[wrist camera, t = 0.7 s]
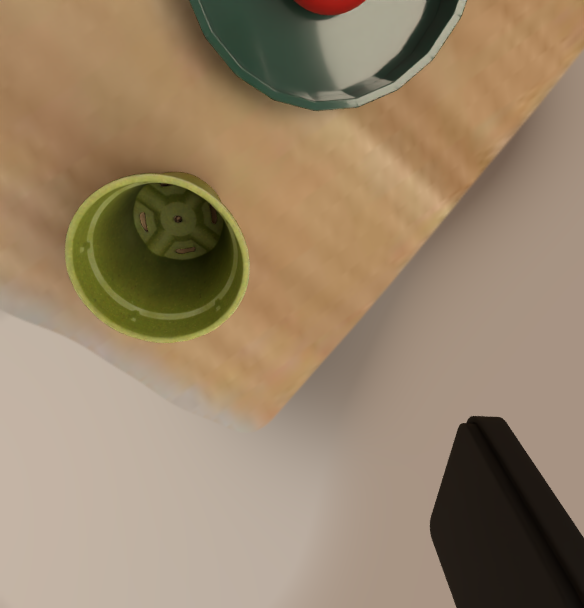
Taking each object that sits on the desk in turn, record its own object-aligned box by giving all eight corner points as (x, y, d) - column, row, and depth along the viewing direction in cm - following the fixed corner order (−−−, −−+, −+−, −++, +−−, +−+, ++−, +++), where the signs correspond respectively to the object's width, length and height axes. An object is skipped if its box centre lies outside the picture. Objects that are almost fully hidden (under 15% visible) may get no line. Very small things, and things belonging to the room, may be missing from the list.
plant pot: (236, 133, 32) (230, 160, 24) (260, 270, 36) (262, 330, 28) (89, 156, 32) (36, 190, 24) (131, 289, 36) (97, 355, 29)
